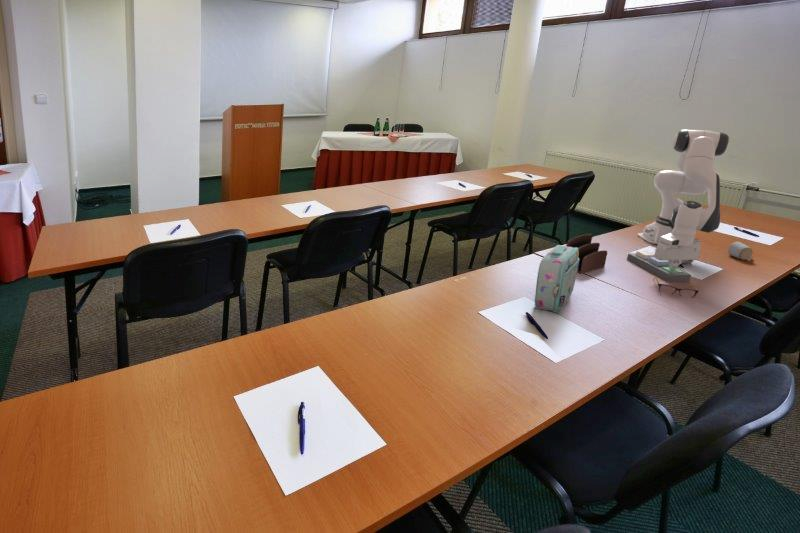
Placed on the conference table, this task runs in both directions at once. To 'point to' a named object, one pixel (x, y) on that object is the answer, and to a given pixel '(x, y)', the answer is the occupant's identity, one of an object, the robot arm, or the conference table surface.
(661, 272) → the button panel
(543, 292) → the lunch box
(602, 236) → the conference table surface
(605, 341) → the conference table surface
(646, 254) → the cream button
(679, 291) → the eyeglasses
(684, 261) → the game die
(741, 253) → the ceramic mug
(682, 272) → the green button
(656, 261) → the slate blue button
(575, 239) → the letter holder
